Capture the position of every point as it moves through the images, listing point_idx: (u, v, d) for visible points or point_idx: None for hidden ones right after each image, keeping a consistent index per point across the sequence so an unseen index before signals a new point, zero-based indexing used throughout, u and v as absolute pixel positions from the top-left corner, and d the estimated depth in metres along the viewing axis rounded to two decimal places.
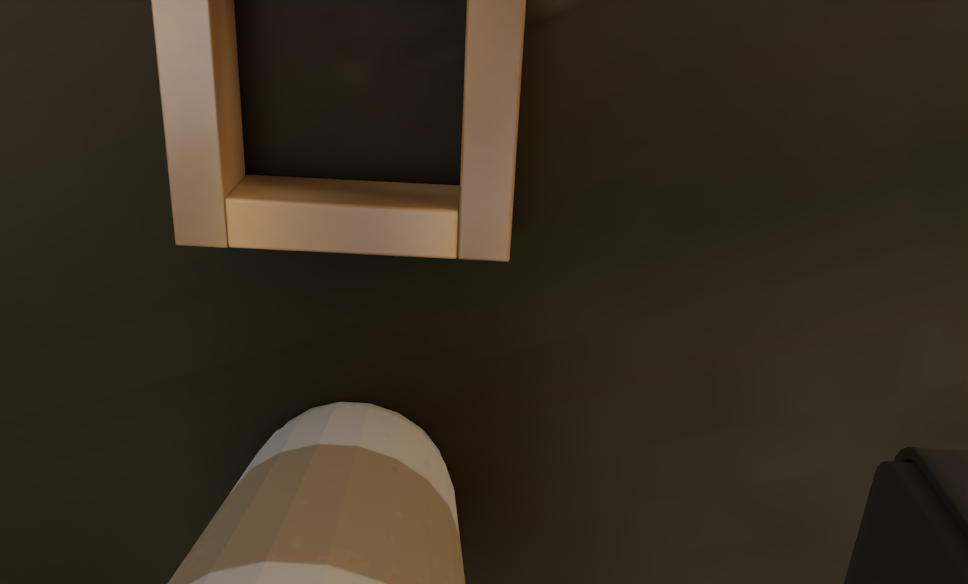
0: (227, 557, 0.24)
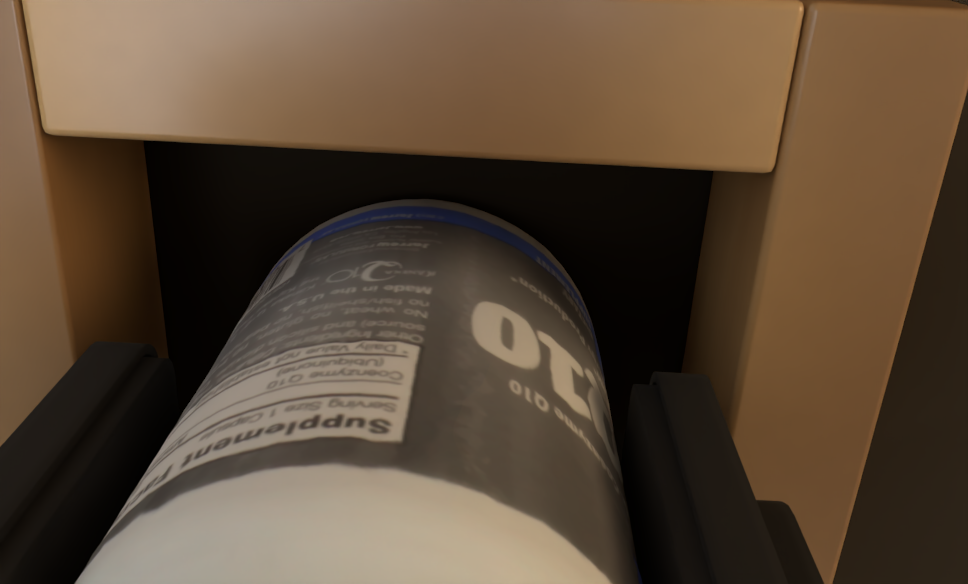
0: None
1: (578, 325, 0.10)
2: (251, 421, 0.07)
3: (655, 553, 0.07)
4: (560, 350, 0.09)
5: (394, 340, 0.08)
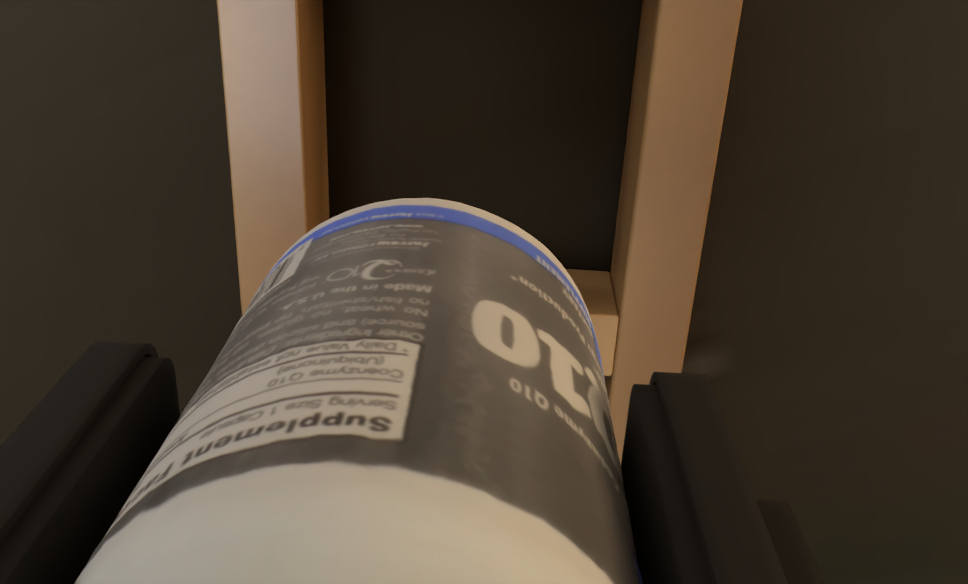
0: None
1: (578, 324, 0.10)
2: (253, 418, 0.07)
3: (655, 553, 0.07)
4: (560, 348, 0.09)
5: (394, 338, 0.08)
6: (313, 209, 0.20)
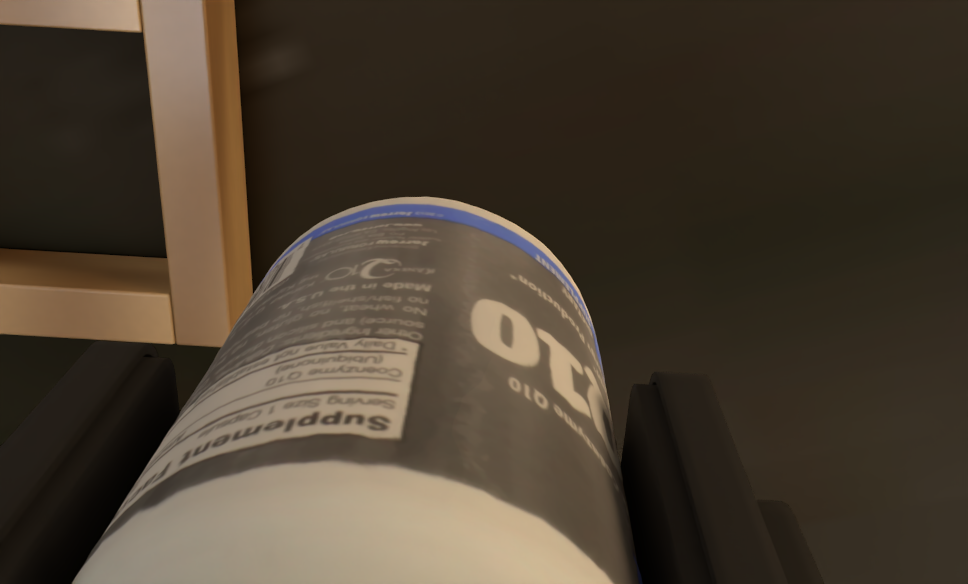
0: None
1: (578, 323, 0.10)
2: (251, 417, 0.07)
3: (655, 553, 0.07)
4: (559, 347, 0.09)
5: (393, 337, 0.08)
6: None
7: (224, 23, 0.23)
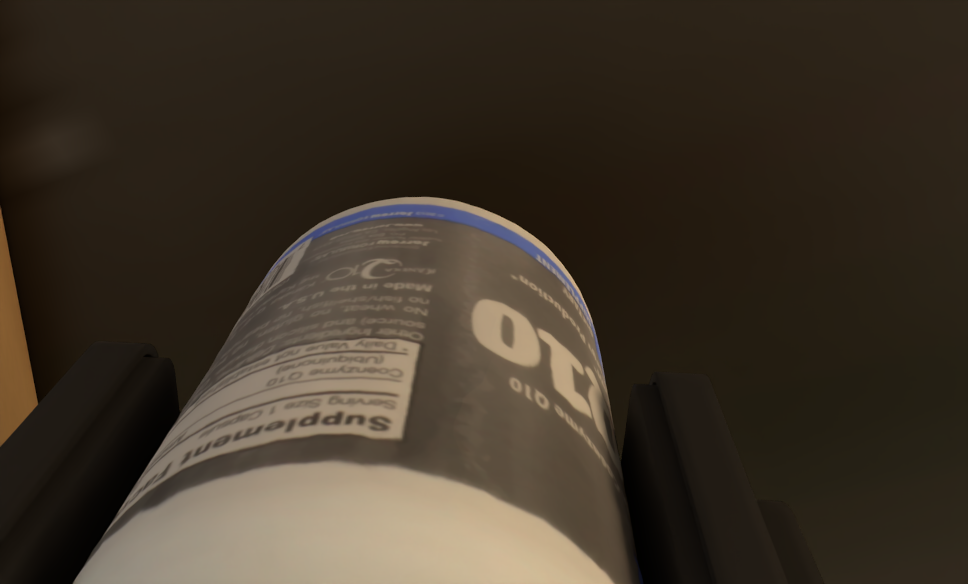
0: None
1: (578, 323, 0.10)
2: (252, 417, 0.07)
3: (655, 553, 0.07)
4: (561, 347, 0.09)
5: (394, 337, 0.08)
6: None
7: None
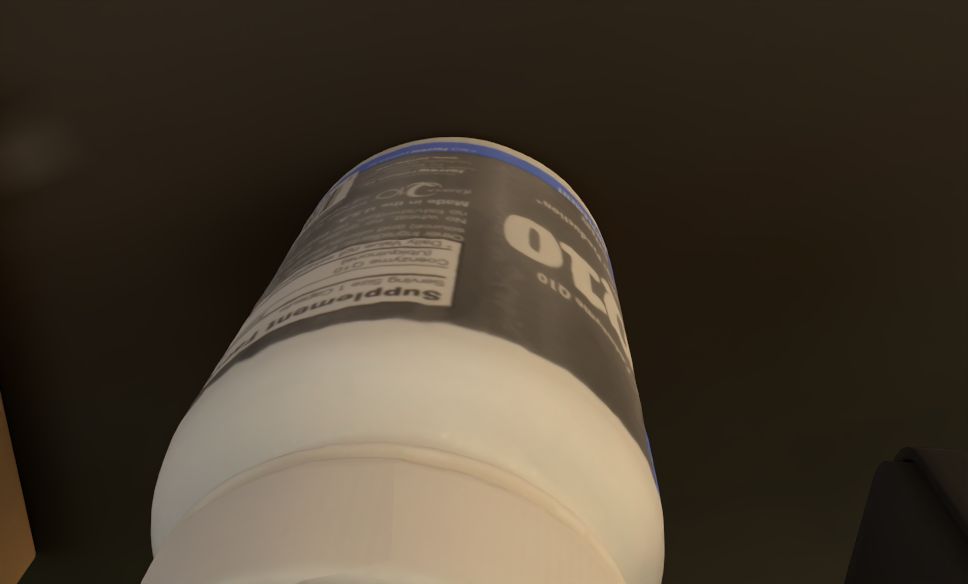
0: None
1: (595, 246, 0.12)
2: (325, 294, 0.08)
3: None
4: (580, 258, 0.10)
5: (438, 238, 0.09)
6: None
7: None
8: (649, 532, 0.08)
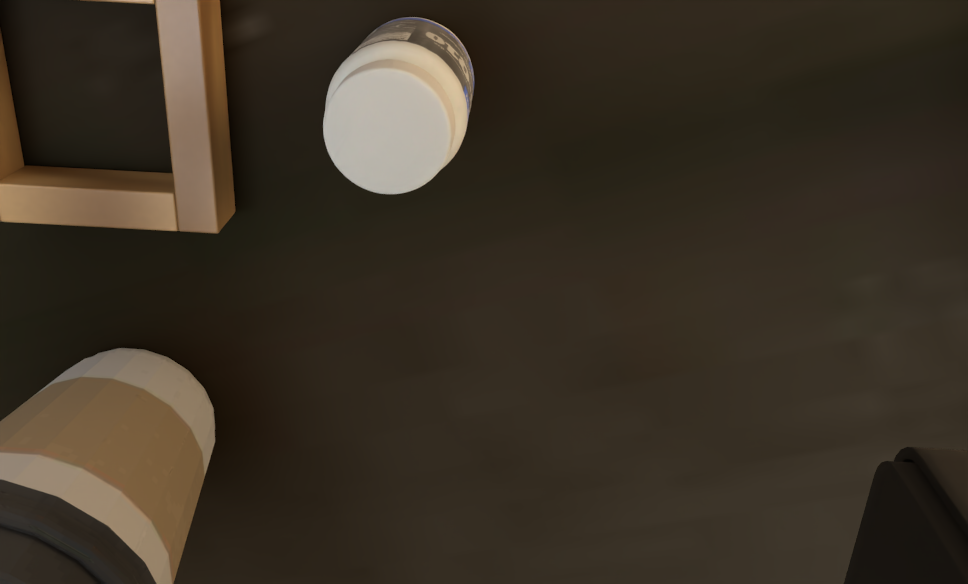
0: None
1: (461, 51, 0.33)
2: (373, 41, 0.30)
3: None
4: (451, 47, 0.32)
5: (405, 32, 0.30)
6: None
7: None
8: (459, 98, 0.29)
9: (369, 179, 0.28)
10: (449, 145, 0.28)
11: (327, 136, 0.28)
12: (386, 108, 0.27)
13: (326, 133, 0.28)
